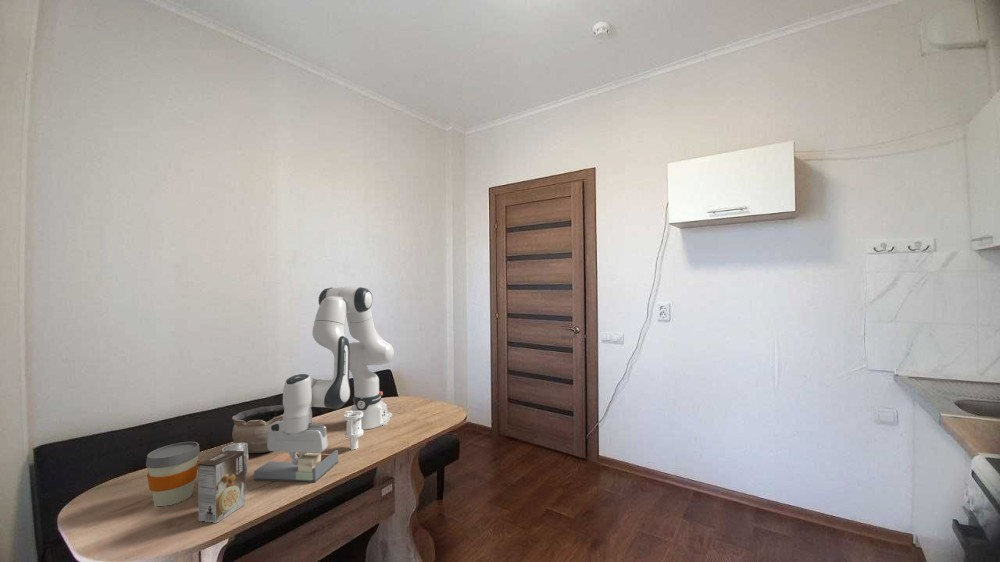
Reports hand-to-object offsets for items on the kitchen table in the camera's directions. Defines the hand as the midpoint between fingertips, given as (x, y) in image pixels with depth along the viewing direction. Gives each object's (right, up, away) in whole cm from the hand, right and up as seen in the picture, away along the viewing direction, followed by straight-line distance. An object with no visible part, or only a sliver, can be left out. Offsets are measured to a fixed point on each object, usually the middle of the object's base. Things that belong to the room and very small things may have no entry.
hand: (297, 463), depth 126 cm
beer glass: (-14, -4, -11) cm, 18 cm away
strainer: (+11, -5, +22) cm, 25 cm away
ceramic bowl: (-26, -6, +23) cm, 35 cm away
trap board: (-2, -4, +4) cm, 6 cm away
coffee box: (-10, -4, -21) cm, 23 cm away
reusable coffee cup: (-32, -5, -12) cm, 34 cm away
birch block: (+4, -1, -1) cm, 5 cm away
